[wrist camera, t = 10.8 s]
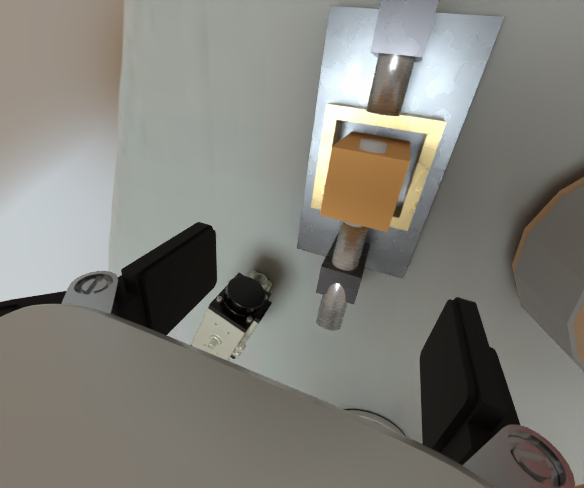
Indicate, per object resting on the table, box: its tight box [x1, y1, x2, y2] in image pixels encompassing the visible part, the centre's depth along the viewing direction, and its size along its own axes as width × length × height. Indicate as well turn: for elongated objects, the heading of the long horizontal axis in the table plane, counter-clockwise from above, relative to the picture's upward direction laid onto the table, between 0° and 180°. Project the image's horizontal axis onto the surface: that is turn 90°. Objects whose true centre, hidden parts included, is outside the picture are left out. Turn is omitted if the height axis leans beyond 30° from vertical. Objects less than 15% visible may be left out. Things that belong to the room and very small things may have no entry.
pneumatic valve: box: [191, 271, 272, 361], centre depth 36 cm, size 6×12×12 cm, turn 153°
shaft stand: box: [297, 0, 504, 330], centre depth 24 cm, size 25×12×10 cm, turn 173°
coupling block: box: [320, 131, 410, 232], centre depth 23 cm, size 6×5×8 cm
